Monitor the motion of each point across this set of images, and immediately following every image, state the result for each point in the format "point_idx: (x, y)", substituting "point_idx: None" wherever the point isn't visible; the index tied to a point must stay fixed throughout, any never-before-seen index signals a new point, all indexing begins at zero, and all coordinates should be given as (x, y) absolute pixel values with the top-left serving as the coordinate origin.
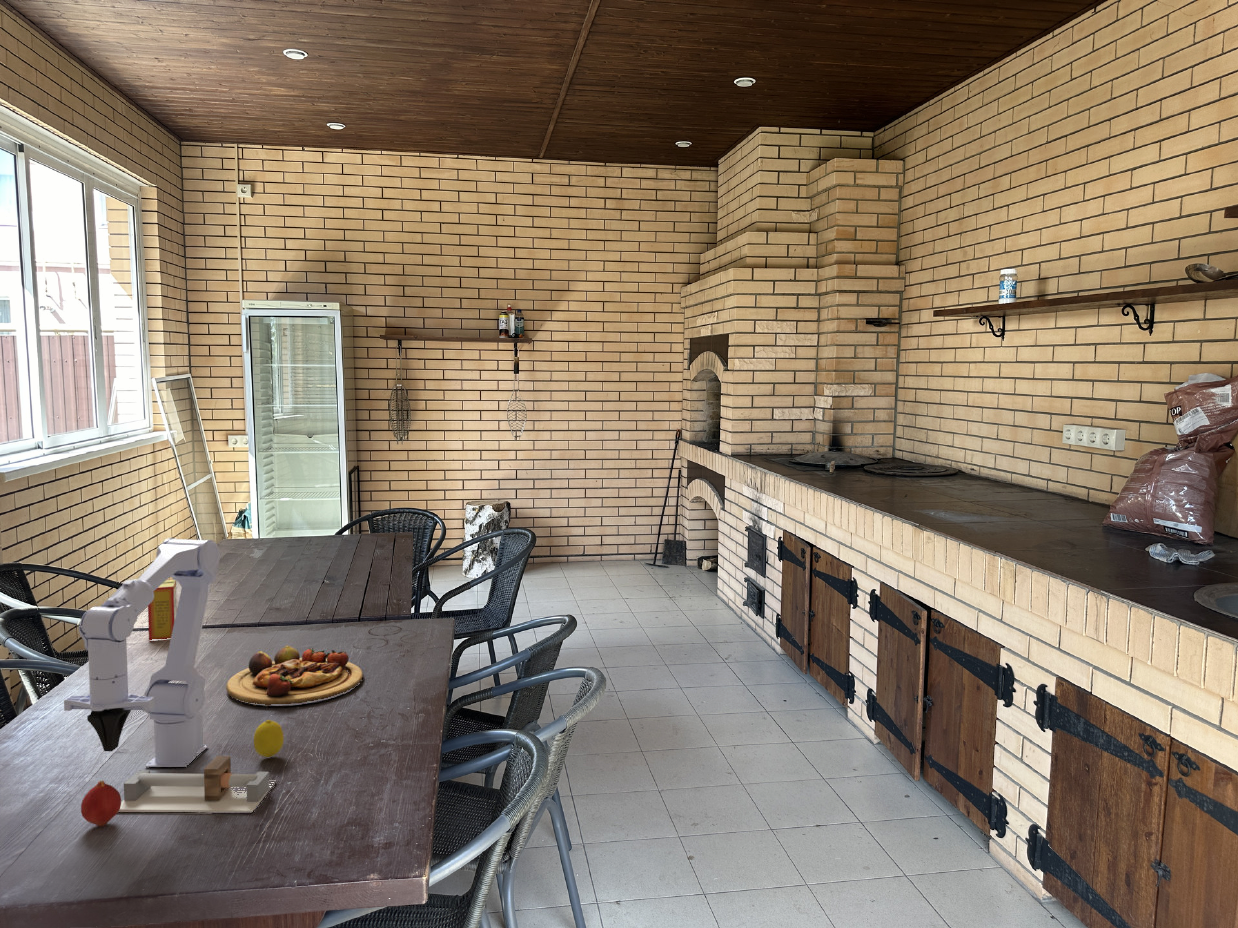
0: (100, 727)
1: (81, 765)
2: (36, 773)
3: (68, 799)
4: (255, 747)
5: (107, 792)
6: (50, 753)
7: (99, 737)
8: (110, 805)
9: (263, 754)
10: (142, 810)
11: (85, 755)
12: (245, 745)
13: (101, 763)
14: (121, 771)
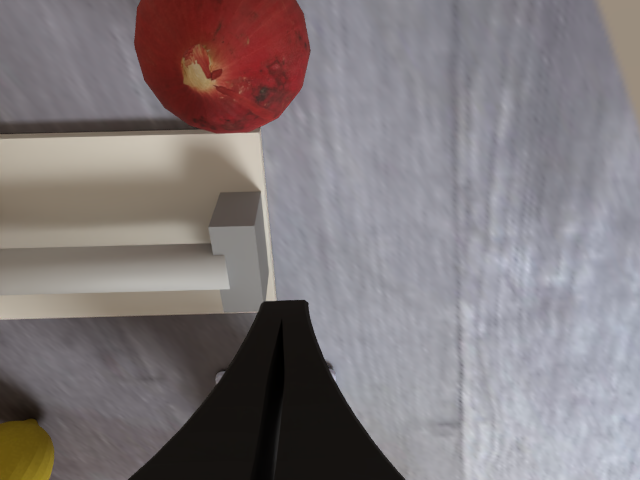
0: (297, 423)
1: (520, 369)
2: (630, 330)
3: (468, 203)
4: (26, 443)
5: (154, 38)
6: (627, 411)
7: (320, 358)
8: (139, 3)
9: (10, 423)
10: (150, 133)
11: (531, 408)
12: (148, 460)
13: (469, 380)
14: (391, 349)
